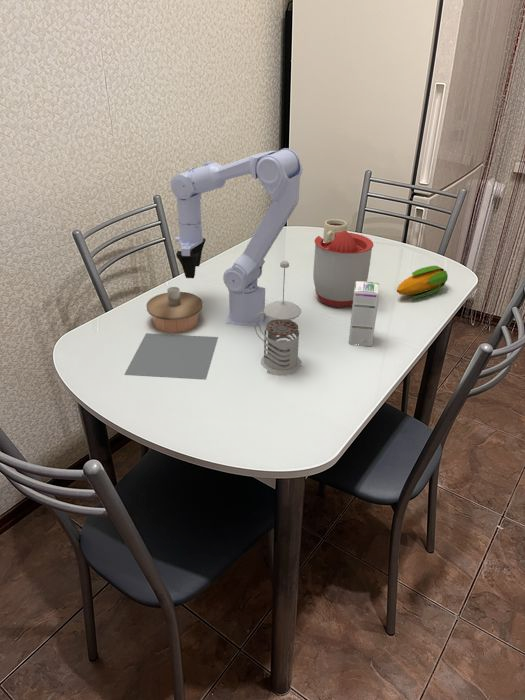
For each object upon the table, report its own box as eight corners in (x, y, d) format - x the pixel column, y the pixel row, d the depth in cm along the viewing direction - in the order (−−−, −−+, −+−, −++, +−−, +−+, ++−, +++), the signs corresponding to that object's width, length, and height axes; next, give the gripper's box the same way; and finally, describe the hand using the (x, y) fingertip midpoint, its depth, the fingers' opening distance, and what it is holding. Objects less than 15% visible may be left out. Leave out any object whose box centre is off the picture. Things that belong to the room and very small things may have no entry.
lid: (207, 296, 137) (206, 279, 135) (196, 321, 125) (195, 303, 123) (155, 293, 138) (153, 276, 136) (139, 318, 126) (137, 300, 124)
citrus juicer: (337, 280, 158) (344, 216, 147) (377, 303, 145) (387, 234, 135) (295, 292, 150) (299, 225, 140) (333, 316, 138) (341, 245, 127)
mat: (218, 338, 128) (218, 337, 127) (205, 380, 112) (205, 379, 112) (146, 334, 129) (146, 333, 128) (124, 376, 113) (124, 374, 113)
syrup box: (372, 347, 125) (380, 292, 118) (347, 344, 126) (354, 290, 119) (372, 335, 130) (380, 282, 122) (349, 332, 131) (355, 280, 123)
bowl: (201, 313, 139) (200, 297, 136) (193, 334, 129) (192, 318, 127) (160, 310, 139) (158, 295, 137) (149, 331, 130) (147, 316, 127)
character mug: (335, 268, 165) (339, 229, 158) (315, 264, 168) (318, 225, 161) (349, 258, 173) (353, 219, 166) (329, 253, 176) (333, 216, 169)
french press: (288, 380, 113) (294, 274, 100) (244, 364, 118) (243, 261, 105) (309, 359, 120) (317, 258, 107) (266, 345, 125) (269, 246, 112)
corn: (457, 265, 150) (410, 281, 140) (452, 290, 153) (407, 307, 143) (435, 258, 155) (389, 274, 145) (432, 282, 159) (387, 299, 149)
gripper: (180, 212, 136) (183, 260, 144) (167, 230, 124) (171, 282, 131) (206, 213, 136) (208, 261, 143) (196, 231, 124) (199, 283, 131)
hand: (192, 271), depth 137 cm, fingers open, 7 cm apart
